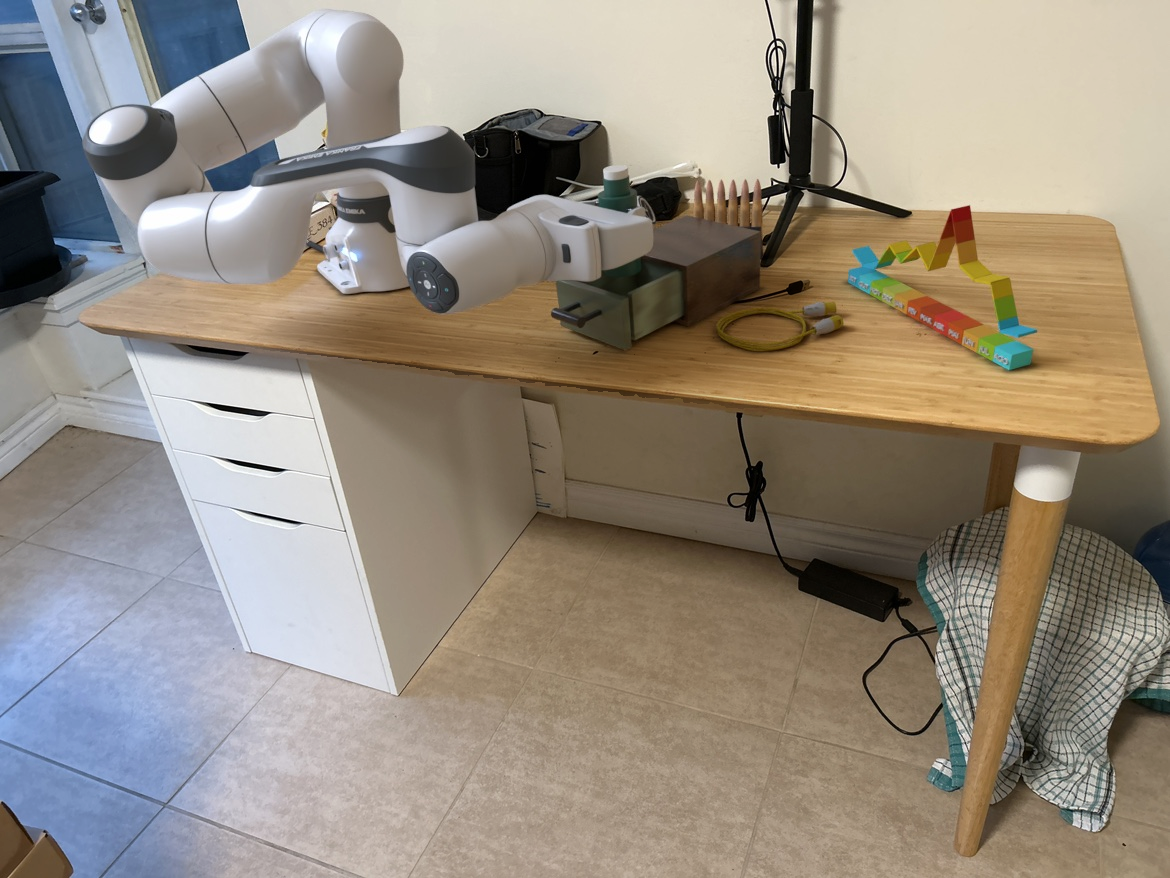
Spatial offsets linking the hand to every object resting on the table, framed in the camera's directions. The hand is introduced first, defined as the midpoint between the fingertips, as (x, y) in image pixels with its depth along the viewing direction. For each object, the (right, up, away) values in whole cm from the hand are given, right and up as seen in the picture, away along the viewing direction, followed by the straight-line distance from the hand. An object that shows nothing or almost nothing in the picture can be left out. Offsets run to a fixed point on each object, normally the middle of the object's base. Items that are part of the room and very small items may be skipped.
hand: (623, 208), depth 106 cm
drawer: (0, -14, +7) cm, 15 cm away
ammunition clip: (+17, -1, +26) cm, 31 cm away
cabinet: (+10, -8, +15) cm, 20 cm away
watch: (+3, -2, +27) cm, 27 cm away
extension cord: (+20, -15, +3) cm, 25 cm away
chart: (+39, -14, +2) cm, 41 cm away
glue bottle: (0, -7, +4) cm, 8 cm away
